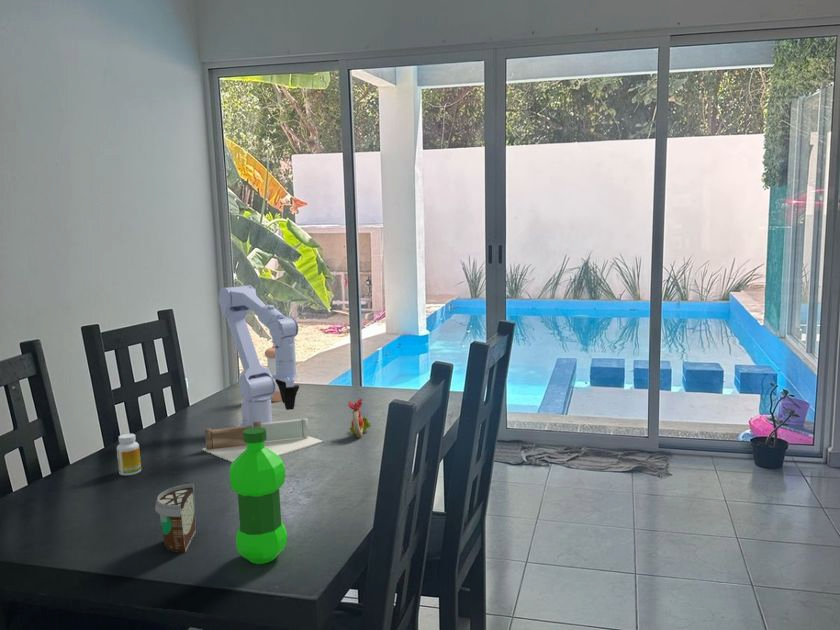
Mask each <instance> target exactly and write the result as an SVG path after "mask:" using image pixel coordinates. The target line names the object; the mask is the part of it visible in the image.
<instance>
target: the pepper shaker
mask: <svg viewBox="0 0 840 630" xmlns="http://www.w3.org/2000/svg"><path fill="white" fill-rule="evenodd" d="M264 351H265V352H264V356H265V358H266V359H267V360H266V363H267V369H269V370H270V373H271V375H272V376H273V375H276V360H275V345H273V344H272V345H271V347H269V348H266V350H264ZM275 382H276V381H275ZM271 401H272V402H282V399H281V394H280V390H279V387H278V385H277V383H276V391H275V393H274V394H273V397H272V398H271ZM272 402H271V403H272Z"/></svg>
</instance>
